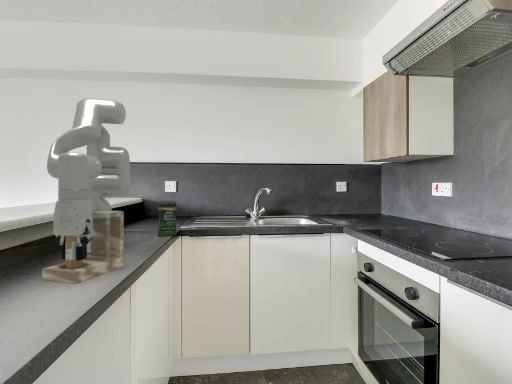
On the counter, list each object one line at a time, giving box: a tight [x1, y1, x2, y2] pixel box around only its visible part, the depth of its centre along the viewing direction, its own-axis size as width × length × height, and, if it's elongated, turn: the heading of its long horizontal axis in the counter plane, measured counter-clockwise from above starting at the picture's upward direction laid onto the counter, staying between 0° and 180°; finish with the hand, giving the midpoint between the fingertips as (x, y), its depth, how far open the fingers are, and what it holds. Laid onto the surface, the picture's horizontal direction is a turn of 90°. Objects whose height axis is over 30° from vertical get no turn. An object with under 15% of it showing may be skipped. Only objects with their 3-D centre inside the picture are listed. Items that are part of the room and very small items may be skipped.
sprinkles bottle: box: [64, 234, 83, 270], centre depth 84 cm, size 5×4×14 cm
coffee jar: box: [157, 200, 178, 237], centre depth 154 cm, size 10×8×19 cm
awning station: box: [41, 210, 125, 285], centre depth 88 cm, size 18×12×18 cm, turn 164°
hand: (74, 258), depth 84 cm, fingers closed on sprinkles bottle, 4 cm apart
